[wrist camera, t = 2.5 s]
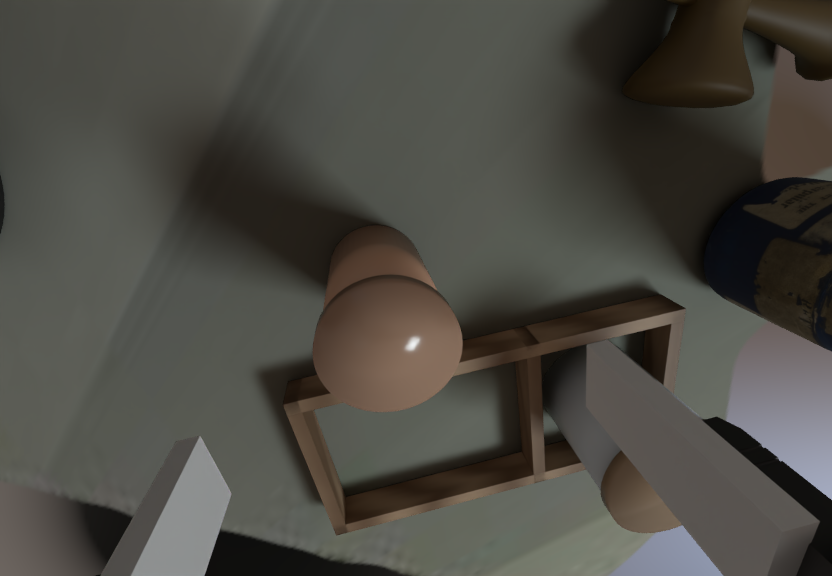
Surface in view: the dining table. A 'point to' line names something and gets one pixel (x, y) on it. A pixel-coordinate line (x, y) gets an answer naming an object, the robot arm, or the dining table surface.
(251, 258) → the dining table surface
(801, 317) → the canister
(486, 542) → the dining table surface
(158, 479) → the robot arm
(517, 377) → the caddy
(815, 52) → the kendama
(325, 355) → the tan domed cylinder
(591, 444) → the white lidded jar
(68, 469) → the dining table surface
